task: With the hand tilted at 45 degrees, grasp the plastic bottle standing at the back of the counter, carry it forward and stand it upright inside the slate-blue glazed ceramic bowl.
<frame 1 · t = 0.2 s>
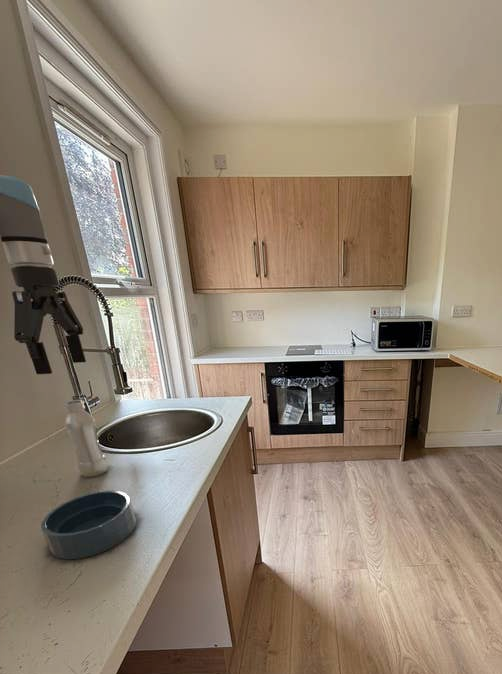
hand: (63, 367, 81), 29 cm above the countertop, tool pointing down, fingers open, 13 cm apart
plastic bottle: (96, 474, 92), on the countertop
bowl: (96, 536, 69), on the countertop
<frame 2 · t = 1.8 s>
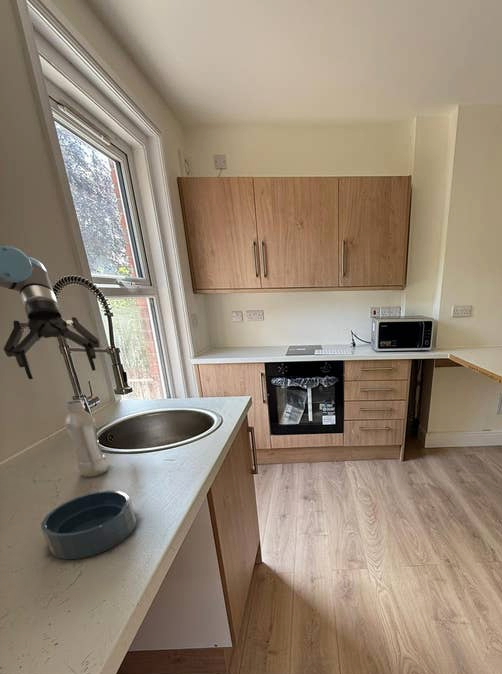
hand: (62, 371, 90), 26 cm above the countertop, tool tilted 45°, fingers open, 13 cm apart
nothing on the countertop moved.
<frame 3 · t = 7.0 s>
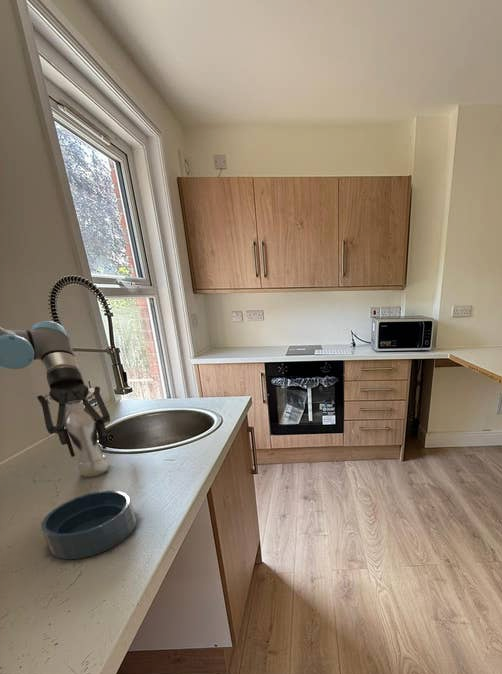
hand: (88, 450, 86), 8 cm above the countertop, tool tilted 45°, fingers closed on plastic bottle, 6 cm apart
plastic bottle: (96, 474, 92), on the countertop, touching gripper
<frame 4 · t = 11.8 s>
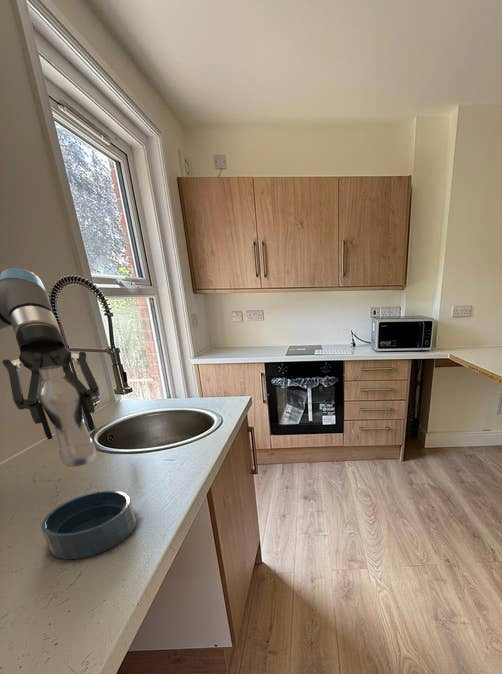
hand: (70, 431, 66), 20 cm above the countertop, tool tilted 45°, fingers closed on plastic bottle, 6 cm apart
plastic bottle: (81, 464, 72), point 12 cm above the countertop, touching gripper
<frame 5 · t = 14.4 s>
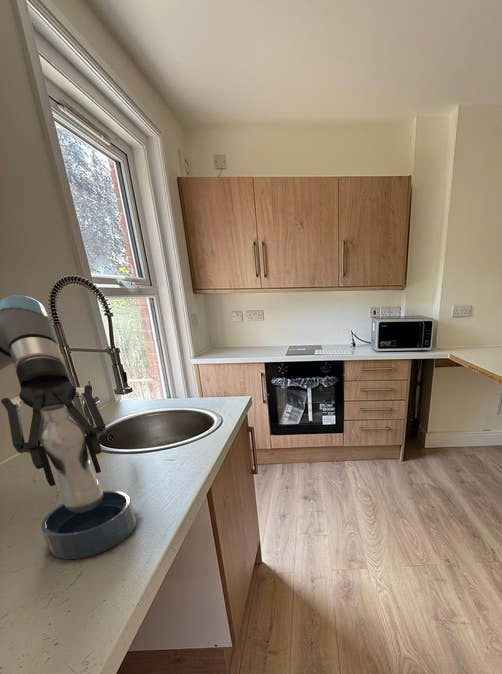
hand: (75, 476, 60), 15 cm above the countertop, tool tilted 45°, fingers closed on plastic bottle, 6 cm apart
plastic bottle: (87, 507, 66), point 7 cm above the countertop, touching gripper
when the fingers open (9 cm above the countertop, at t = 16.5 s): plastic bottle stays where it is, resting on bowl.
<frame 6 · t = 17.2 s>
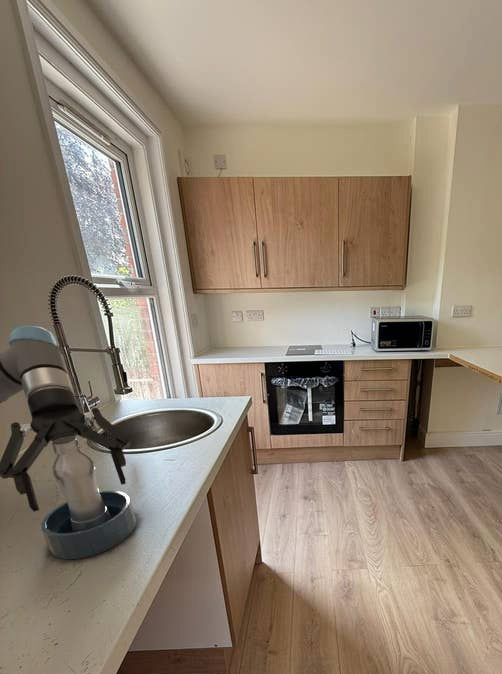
hand: (81, 494, 63), 11 cm above the countertop, tool tilted 45°, fingers open, 13 cm apart
plastic bottle: (96, 533, 69), point 1 cm above the countertop, touching bowl
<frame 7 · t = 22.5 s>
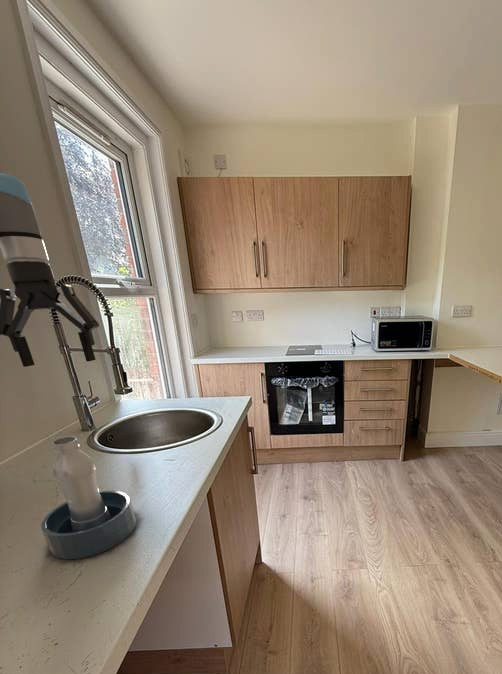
hand: (60, 363, 81), 29 cm above the countertop, tool pointing down, fingers open, 13 cm apart
nothing on the countertop moved.
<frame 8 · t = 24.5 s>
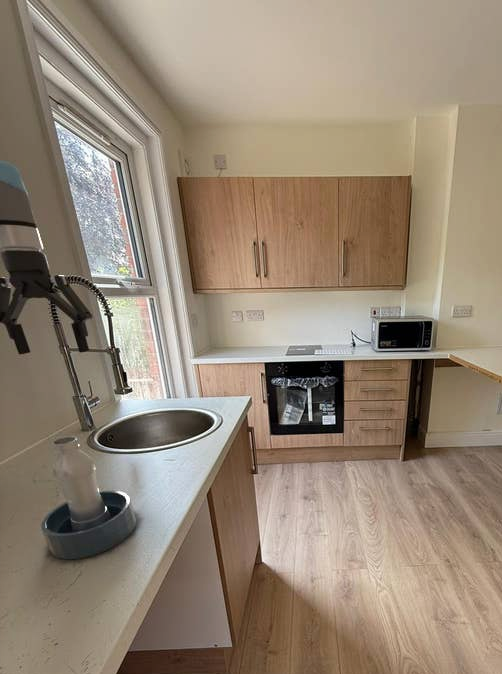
hand: (54, 352, 82), 32 cm above the countertop, tool pointing down, fingers open, 13 cm apart
nothing on the countertop moved.
at the end: plastic bottle inside the target area in the bowl (0.1 cm from its centre), point 0.6 cm above the bowl's base; plastic bottle tilted 0°; the gripper is holding nothing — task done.
